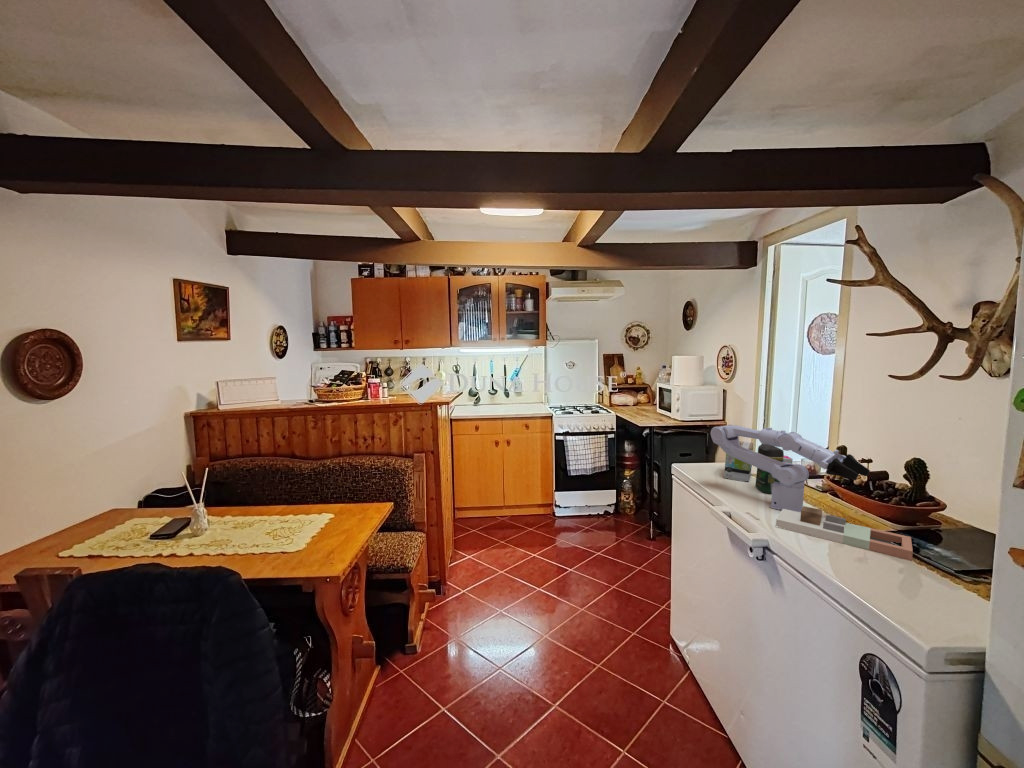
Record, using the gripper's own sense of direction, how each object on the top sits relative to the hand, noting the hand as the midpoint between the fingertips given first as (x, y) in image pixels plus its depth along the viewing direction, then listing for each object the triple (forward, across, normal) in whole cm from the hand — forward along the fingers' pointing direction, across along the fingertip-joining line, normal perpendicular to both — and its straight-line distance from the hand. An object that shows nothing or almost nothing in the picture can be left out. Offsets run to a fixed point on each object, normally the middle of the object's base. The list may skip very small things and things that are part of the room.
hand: (862, 475), depth 133 cm
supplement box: (-32, +27, +28) cm, 50 cm away
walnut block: (-4, -12, +17) cm, 21 cm away
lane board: (+4, -10, +17) cm, 20 cm away
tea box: (-45, +20, +32) cm, 59 cm away
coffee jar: (-29, +12, +27) cm, 42 cm away
